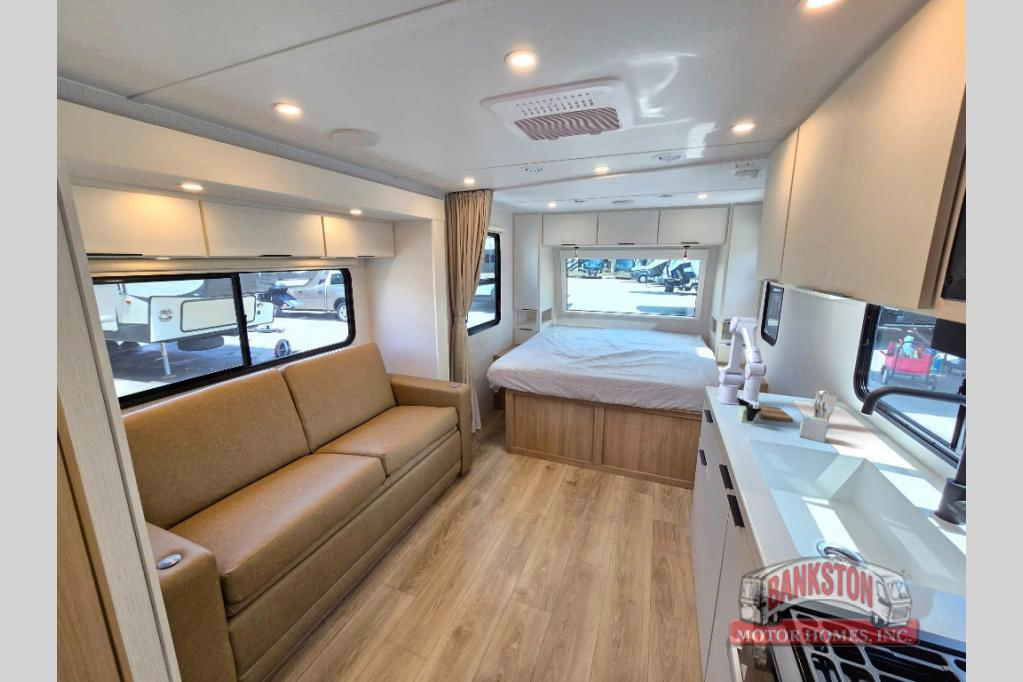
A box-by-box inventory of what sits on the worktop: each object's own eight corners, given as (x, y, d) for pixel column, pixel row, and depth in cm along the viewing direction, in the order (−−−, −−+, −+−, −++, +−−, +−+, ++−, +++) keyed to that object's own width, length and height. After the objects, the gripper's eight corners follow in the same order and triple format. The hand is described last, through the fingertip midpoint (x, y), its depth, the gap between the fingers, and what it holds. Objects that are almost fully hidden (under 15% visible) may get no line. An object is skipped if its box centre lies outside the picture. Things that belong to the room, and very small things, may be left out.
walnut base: (750, 408, 172) (751, 405, 171) (778, 411, 170) (779, 407, 169) (762, 419, 161) (763, 415, 160) (792, 422, 158) (793, 418, 158)
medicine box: (822, 438, 144) (827, 419, 142) (824, 443, 141) (829, 423, 139) (798, 433, 149) (802, 414, 147) (799, 437, 145) (803, 417, 143)
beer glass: (827, 429, 152) (835, 397, 149) (806, 423, 158) (814, 392, 154) (831, 425, 156) (839, 393, 153) (811, 419, 162) (819, 388, 158)
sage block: (737, 417, 162) (739, 405, 161) (749, 418, 161) (751, 406, 160) (741, 422, 157) (743, 410, 156) (754, 423, 156) (756, 411, 155)
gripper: (735, 382, 163) (730, 409, 167) (748, 393, 150) (742, 423, 153) (752, 383, 162) (746, 411, 165) (767, 395, 148) (761, 425, 151)
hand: (746, 417), depth 159 cm, fingers open, 7 cm apart
